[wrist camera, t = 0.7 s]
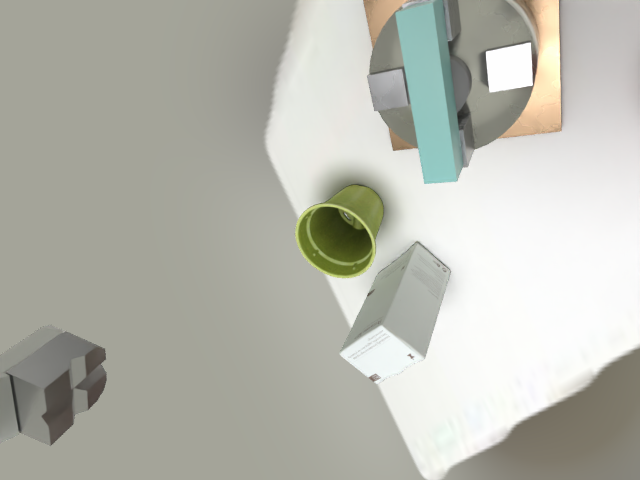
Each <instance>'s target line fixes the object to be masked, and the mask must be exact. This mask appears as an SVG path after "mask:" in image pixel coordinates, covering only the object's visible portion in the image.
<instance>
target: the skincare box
mask: <svg viewBox="0 0 640 480" xmlns="http://www.w3.org/2000/svg"><path fill="white" fill-rule="evenodd" d="M450 273H451V271H450V270H449V269H448V268H447V267H445V266H444V265H443V264H442V263H441V262H439V261H438V260H437V259H436V258H435V257H434V256H433V255H432V254H431V253H430V252H429V251H427V250H426V249H425V248H424V247H423V246H422V245H421V244H420V243H418V242H416V243H415V244H414V245H413V246H412V247H411V248H410V249H409V250H408V251H406V252H405V253H404V254H403V255H402V256H401V257H399V258H398V259H397V260H396V261H394V262H393V263H392V264H390V265H389V266H388V267H386V268H385V269H383V270H382V271H381V272H379V273H378V275H377V277H376V279H375V281H374V283H373V285H372V287H371V289H370V291H369V293H368V295H367V297H366V299H365V301H364V304H363V306H362V308H361V310H360V312H359V314H358V316H357V318H356V320H355V322H354V325H353V327H352V329H351V331H350V333H349V335H348V337H347V339H346V341H345V343H344V345H343V347H342V349H341V351H340V353H339V354H340V355H341V356H342V357H343V358H344V359H346V360H347V361H348V362H349V363H351V364H352V365H353V366H354V367H356V368H357V369H358V370H359V371H361V372H362V373H363V374H364V375H366V376H367V377H368V378H370V379H371V380H372V381H373V382H375V383H376V384H379V383H380V382H382V381H384V380H385V379H387V378H389V377H391V376H394V375H398V374H400V373H402V372H403V371H404V369H405V368H407V367H409V366H411V365H413V364H415V363H417V362H420V361H422V360H424V359H425V357H426V353H427V350H428V346H429V343H430V340H431V336H432V333H433V330H434V326H435V323H436V320H437V316H438V313H439V310H440V306H441V303H442V300H443V296H444V293H445V290H446V286H447V283H448V280H449V276H450Z"/></svg>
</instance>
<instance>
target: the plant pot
mask: <svg viewBox="0 0 640 480" xmlns="http://www.w3.org/2000/svg"><path fill="white" fill-rule="evenodd" d="M383 211H384V208H383V203H382V201H381V199H380V197H379V196H378V195H377V194H376V193H375V192H374V191H373V190H372V189H370V188H368V187H364V186H359V185H350V186H347V187H346V188H344V189H343V190H341V191H340V192H339V193H337V194H336V195H335V196H333V197H332V198H331V199H329V200H328V201H326V202H325V203H320V204H316V205H313V206H311V207H309V208H308V209H307V210H305V211H304V212H303V213H302V215H301V216H300V217H299V219H298V221H297V224H296V233H295V236H296V241H297V244H298V247H299V249H300V251H301V253H302V255H303V256H304V257H305V259H306V260H307V261H308V262H309V263H310V264H311V265H312V266H313V267H315V268H316V269H318V270H319V271H321V272H323V273H325V274H327V275H330V276H333V277H337V278H352V277H356V276H359V275H361V274H363V273H364V272H366V271H367V270H368V269H369V267H370V266H371V265H372V263H373V261H374V258H375V254H376V243H375V239H376V236H377V233H378V230H379V227H380V224H381V221H382V218H383ZM344 212H345V213H346V214H347V216H348V217H349V218H350V219H351V220H348V219H347V218H346V217H345V215H344Z"/></svg>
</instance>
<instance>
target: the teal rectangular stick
mask: <svg viewBox="0 0 640 480" xmlns="http://www.w3.org/2000/svg"><path fill="white" fill-rule="evenodd" d="M395 15H396V21H397V27H398V33H399V38H400V44H401V50H402V56H403V62H404V67H405V73H406V79H407V85H408V88H407V93H408V99H409V102H410V104H411V108H412V114H413V120H414V125H415V131H416V137H417V143H418V149H419V154H420V160H421V166H422V172H423V178H424V183H425V184H429V183H442V182H455V181H457V180H458V178H459V175H460V172H461V170H462V167H463V158H462V150H461V142H460V134H459V126H458V118H457V112H458V111H459V110H460V109H461V108H462V107H463V105H464V103H465V101H466V100H467V98H468V96H469V94H470V91H471V87H472V76H471V72H470V70H469V68H468V66H467V65H466V63H465V62H464V61H463V60H462V59H460V58H459V57H457V56H455V55H452V54H449V48H448V40H447V32H446V24H445V16H444V8H443V1H442V0H429V1H425V2H422V3H418V4H414V5H411V6H407V7H405V8H403V9H401V10H399V11H397V12H396V13H395Z"/></svg>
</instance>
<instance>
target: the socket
mask: <svg viewBox="0 0 640 480" xmlns="http://www.w3.org/2000/svg"><path fill="white" fill-rule="evenodd" d="M363 1H364V6H365V11H366V16H367V21H368V26H369V31H370V36H371V41H372V46H373V51H372V56H371V60H370V70H369V73H370V74H369V75H368V76H367V78H368V83H369V88H370V92H371V97H372V102H373V107H374V111H378V112H379V113H380V115H381V117H382V119H383V120H384V121H385V123H386V124H387V125H388V127H389V132H390V137H391V142H392V147H393V151H395V150H404V149H412V148H418V143H417V137H416V131H415V125H414V120H413V114H412V108H411V104H410V102H409V99H408V93H407V88H408V85H407V79H406V73H405V67H404V62H403V56H402V50H401V44H400V38H399V33H398V27H397V21H396V15H395V13H396V12H397V11H399V10H401V9H403V8H405V7H407V6H411V5H414V4H418V3H422V2H425V1H429V0H363ZM442 1H443V8H444V16H445V24H446V32H447V40H448V48H449V54H452V55H455V56H457V57H459V58H460V59H462V60H463V61H464V62H465V63H466V65H467V66H468V68H469V70H470V72H471V76H472V87H471V91H470V94H469V96H468V98H467V100H466V101H465V103H464V105H463V107H462V108H461V109H460V110H459V111H458V112H457V118H458V126H459V134H460V142H461V150H462V158H463V167H468V165H469V162H470V160H471V157H472V154H473V151H474V150H475V149H478V148H480V147H482V146H485V145H487V144H489V143H490V142H492V141H494V140H496V139H498V138H507V137H515V136H524V135H532V134H541V133H550V132H558V131H561V86H560V39H559V0H442ZM463 167H462V168H463Z"/></svg>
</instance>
